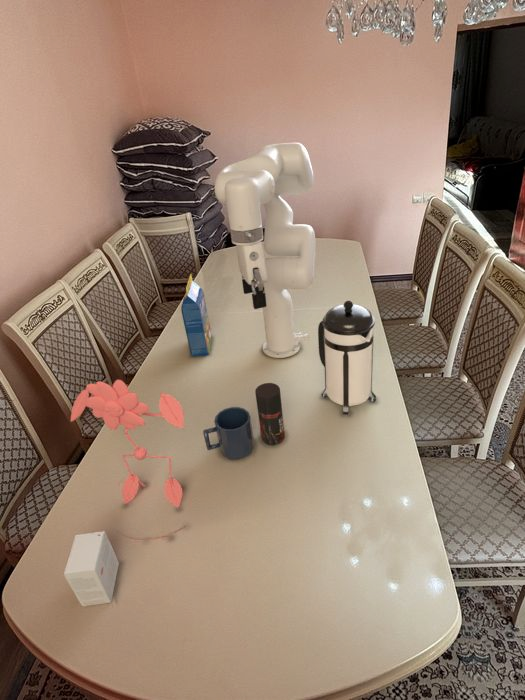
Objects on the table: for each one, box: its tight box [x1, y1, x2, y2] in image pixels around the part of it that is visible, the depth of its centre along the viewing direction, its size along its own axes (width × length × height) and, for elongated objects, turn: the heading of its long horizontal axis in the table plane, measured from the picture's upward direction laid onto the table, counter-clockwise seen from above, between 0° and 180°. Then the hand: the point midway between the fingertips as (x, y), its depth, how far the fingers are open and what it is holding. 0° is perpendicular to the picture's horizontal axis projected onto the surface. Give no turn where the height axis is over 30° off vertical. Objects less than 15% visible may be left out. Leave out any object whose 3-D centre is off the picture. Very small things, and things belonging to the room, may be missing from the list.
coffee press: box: [317, 300, 377, 416], centre depth 118 cm, size 17×16×30 cm
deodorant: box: [254, 382, 286, 446], centre depth 111 cm, size 6×6×15 cm
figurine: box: [70, 379, 186, 543], centre depth 90 cm, size 15×26×35 cm, turn 78°
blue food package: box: [180, 274, 213, 357], centre depth 151 cm, size 6×12×25 cm, turn 0°
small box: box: [63, 530, 120, 607], centre depth 83 cm, size 8×6×10 cm
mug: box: [202, 406, 255, 461], centre depth 111 cm, size 12×9×10 cm
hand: (254, 299), depth 115 cm, fingers open, 9 cm apart
